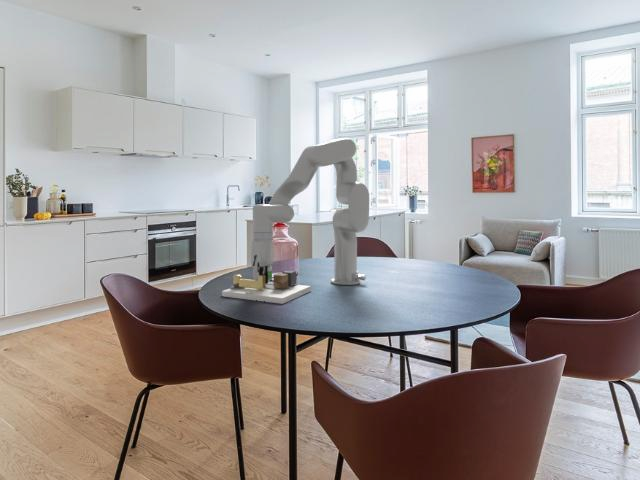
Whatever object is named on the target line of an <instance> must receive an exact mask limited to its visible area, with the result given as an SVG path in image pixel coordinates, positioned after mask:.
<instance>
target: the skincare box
mask: <svg viewBox="0 0 640 480" xmlns="http://www.w3.org/2000/svg"><path fill="white" fill-rule="evenodd" d="M254 267H255V266H252V275H253V276H252V277H253V279H252V280H258V275H259V274H258V271H257V270H254ZM271 280H273V265H272V266H271V267H270V268H269V273H268V281H269V282H271Z"/></svg>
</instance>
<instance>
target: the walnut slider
mask: <svg viewBox="0 0 640 480" xmlns="http://www.w3.org/2000/svg"><path fill="white" fill-rule="evenodd" d="M272 279H273V282H274V288H279V289H284V288H286V287H288V274H283V273H282V272H281V273H280V272H278V273H276V274H272Z"/></svg>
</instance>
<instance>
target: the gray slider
mask: <svg viewBox="0 0 640 480" xmlns="http://www.w3.org/2000/svg"><path fill="white" fill-rule="evenodd" d="M281 273H283V274H288V285H290V286H292V285H294V284H297V271H296V270H284V271H282V272H281Z"/></svg>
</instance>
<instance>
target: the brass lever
mask: <svg viewBox="0 0 640 480" xmlns="http://www.w3.org/2000/svg"><path fill="white" fill-rule="evenodd" d="M232 278H233V286H234V287H243V288H252V289H260V290H264V289H266V283H265V275H258V280H253V279H250V278H248V279H247V278H242V274H239V273H238V274H237V273H236V274H233V277H232Z"/></svg>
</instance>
